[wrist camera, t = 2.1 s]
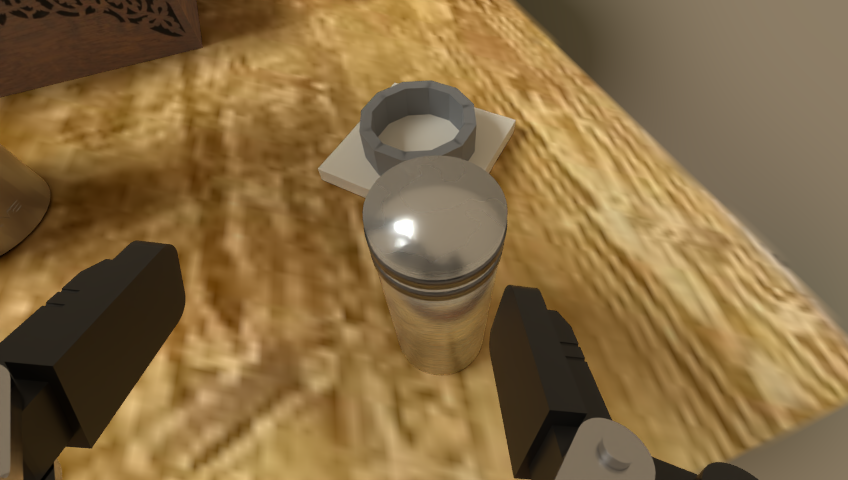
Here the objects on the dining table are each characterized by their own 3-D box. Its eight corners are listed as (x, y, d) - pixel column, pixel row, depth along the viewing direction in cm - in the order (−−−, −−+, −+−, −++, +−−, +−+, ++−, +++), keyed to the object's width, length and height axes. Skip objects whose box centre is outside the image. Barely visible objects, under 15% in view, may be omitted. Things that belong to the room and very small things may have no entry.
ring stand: (321, 179, 31) (308, 143, 28) (396, 94, 36) (391, 55, 33) (452, 234, 28) (452, 199, 25) (513, 131, 33) (520, 92, 30)
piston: (381, 349, 24) (331, 234, 14) (423, 279, 26) (407, 138, 16) (460, 393, 22) (469, 299, 12) (498, 314, 25) (531, 182, 15)
